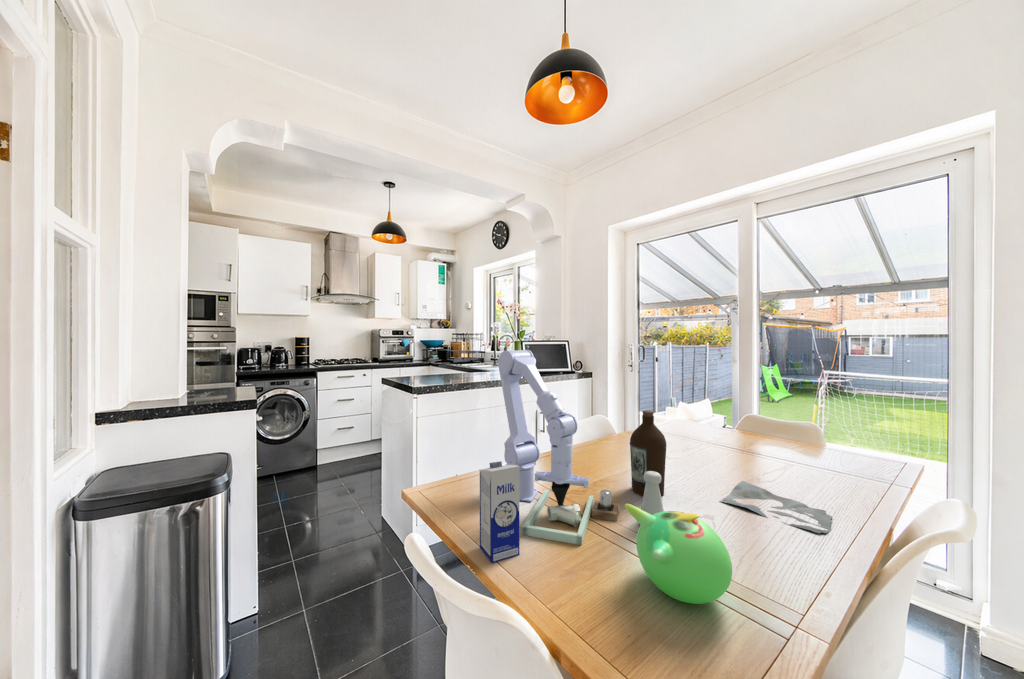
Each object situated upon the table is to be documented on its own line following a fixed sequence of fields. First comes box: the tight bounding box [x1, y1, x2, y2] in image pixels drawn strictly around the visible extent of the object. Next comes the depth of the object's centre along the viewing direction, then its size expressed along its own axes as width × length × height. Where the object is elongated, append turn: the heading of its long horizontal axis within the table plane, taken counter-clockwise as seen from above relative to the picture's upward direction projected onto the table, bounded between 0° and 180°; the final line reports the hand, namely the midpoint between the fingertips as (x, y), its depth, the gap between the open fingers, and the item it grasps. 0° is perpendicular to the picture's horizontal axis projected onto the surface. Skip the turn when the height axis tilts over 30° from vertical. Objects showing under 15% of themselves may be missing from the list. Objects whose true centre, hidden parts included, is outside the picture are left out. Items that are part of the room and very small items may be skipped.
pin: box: [599, 489, 612, 512], centre depth 104 cm, size 3×3×6 cm
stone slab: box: [719, 480, 833, 534], centre depth 106 cm, size 24×16×2 cm, turn 38°
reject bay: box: [521, 488, 595, 546], centre depth 102 cm, size 14×24×2 cm, turn 161°
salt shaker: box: [640, 471, 665, 515], centre depth 99 cm, size 6×6×13 cm
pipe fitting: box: [547, 503, 582, 527], centre depth 99 cm, size 8×4×7 cm
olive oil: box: [629, 409, 667, 497], centre depth 118 cm, size 11×11×25 cm
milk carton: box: [478, 460, 520, 564], centre depth 86 cm, size 7×7×20 cm
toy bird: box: [624, 503, 733, 605], centre depth 73 cm, size 18×17×15 cm
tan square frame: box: [591, 500, 619, 522], centre depth 104 cm, size 6×6×2 cm
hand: (561, 509), depth 103 cm, fingers closed, pressing on pipe fitting
